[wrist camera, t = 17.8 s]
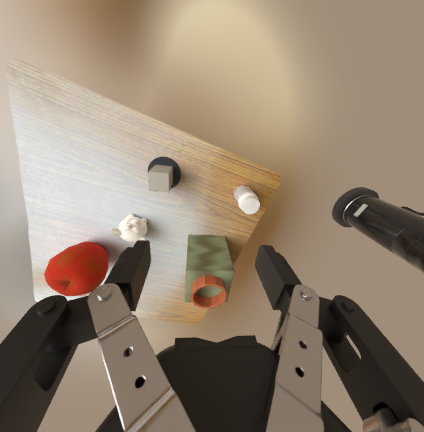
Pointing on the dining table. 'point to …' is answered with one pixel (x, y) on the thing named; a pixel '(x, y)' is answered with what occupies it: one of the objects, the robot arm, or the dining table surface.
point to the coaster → (167, 162)
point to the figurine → (132, 229)
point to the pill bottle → (246, 199)
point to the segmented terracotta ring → (208, 301)
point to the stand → (207, 264)
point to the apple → (77, 269)
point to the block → (160, 178)
